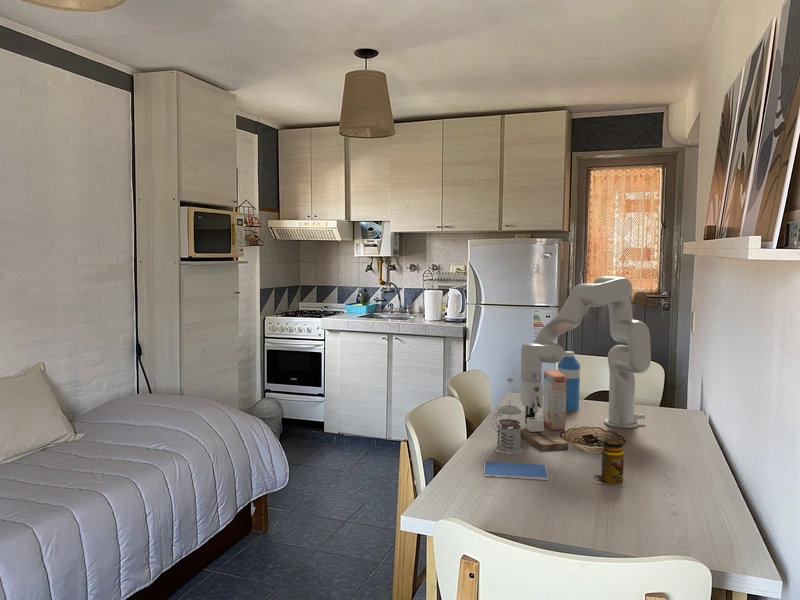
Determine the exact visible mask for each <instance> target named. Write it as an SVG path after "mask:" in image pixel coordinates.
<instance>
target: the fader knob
mask: <svg viewBox="0 0 800 600" xmlns="http://www.w3.org/2000/svg"><path fill="white" fill-rule="evenodd" d="M526 425H527V427H526V429H527V430H529V431H530V432H538V431H544V428H545V422H544V419H543V417H541V416H535V417H527V424H526Z"/></svg>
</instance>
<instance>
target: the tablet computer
mask: <svg viewBox="0 0 800 600" xmlns="http://www.w3.org/2000/svg"><path fill="white" fill-rule="evenodd" d="M483 462H484V463H483V474H484V475H489V476H499V477H510V478H509V479H517V478H520V479H521V480H534V479H535V480H537V481H539V480H540V481H549V480H550V477H549V473H548V470H547V465H546V464H542V463H541V464H540V463H539V464H538V463H525V462H523V463H522V462H521V463H520V462H505V461H504V462H502V461H483ZM499 477H498V478H499ZM520 479H519V480H520Z"/></svg>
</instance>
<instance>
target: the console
mask: <svg viewBox="0 0 800 600" xmlns="http://www.w3.org/2000/svg"><path fill="white" fill-rule="evenodd" d="M519 425H520V426H521V433H520V435H521V437H522V439H524V440H526V441H527V442H529V443H530V444H531V445H533V446H534V447H535V448H537V449H539V450H540V451H552V450H553V451H556V450H568V449H569V442H568V441H566V440H564V439H562V438H561V437H559V436H558V435H556V434H554V433H553V432H551V431H549V430H548V429H546V428H545V427H544V431H538V432H530V431H529V430H527V429H526V427H527V424H519ZM512 428H514V429H517V428H516V427H512ZM521 437H520V438H521Z"/></svg>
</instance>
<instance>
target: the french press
mask: <svg viewBox="0 0 800 600" xmlns="http://www.w3.org/2000/svg"><path fill="white" fill-rule="evenodd" d="M513 381H514V380H513V378H512V377H508V378H507V382H509V384H511V383H512V382H513ZM497 411H498V412H496V413H494V414H493V416H492V419H494V417H495V419H498V418H497V416H499V417H502V416H503V415H508V418H504V419H503V418H502V419H500V420H498V423H499V424H497V422H495V426H496V428H497V430H496V428H495V426H494V424H492V427H493V430H494V431H495V432H496V434H497V445H496V446H495V447H494V450H495V449H496V450H498V451H500V452H503V453H502V454H504V453H508V454H507V455H518V454H517V453H519V454H521V453H523V452H524V448H522V447H521V435H520V433H521V426H520V425H521V422H520V421H519V420H518V419H511V415H513V416H514V415H519V414H522V410H521V409H520V408H519V407H517V406H515V405H511V401H509V404H507V405H503V406H500V407H499V408H497ZM500 414H501V415H500ZM510 427H512V428H510ZM513 427H516V428H517V429H514V428H513ZM496 450H495V451H496Z"/></svg>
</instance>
